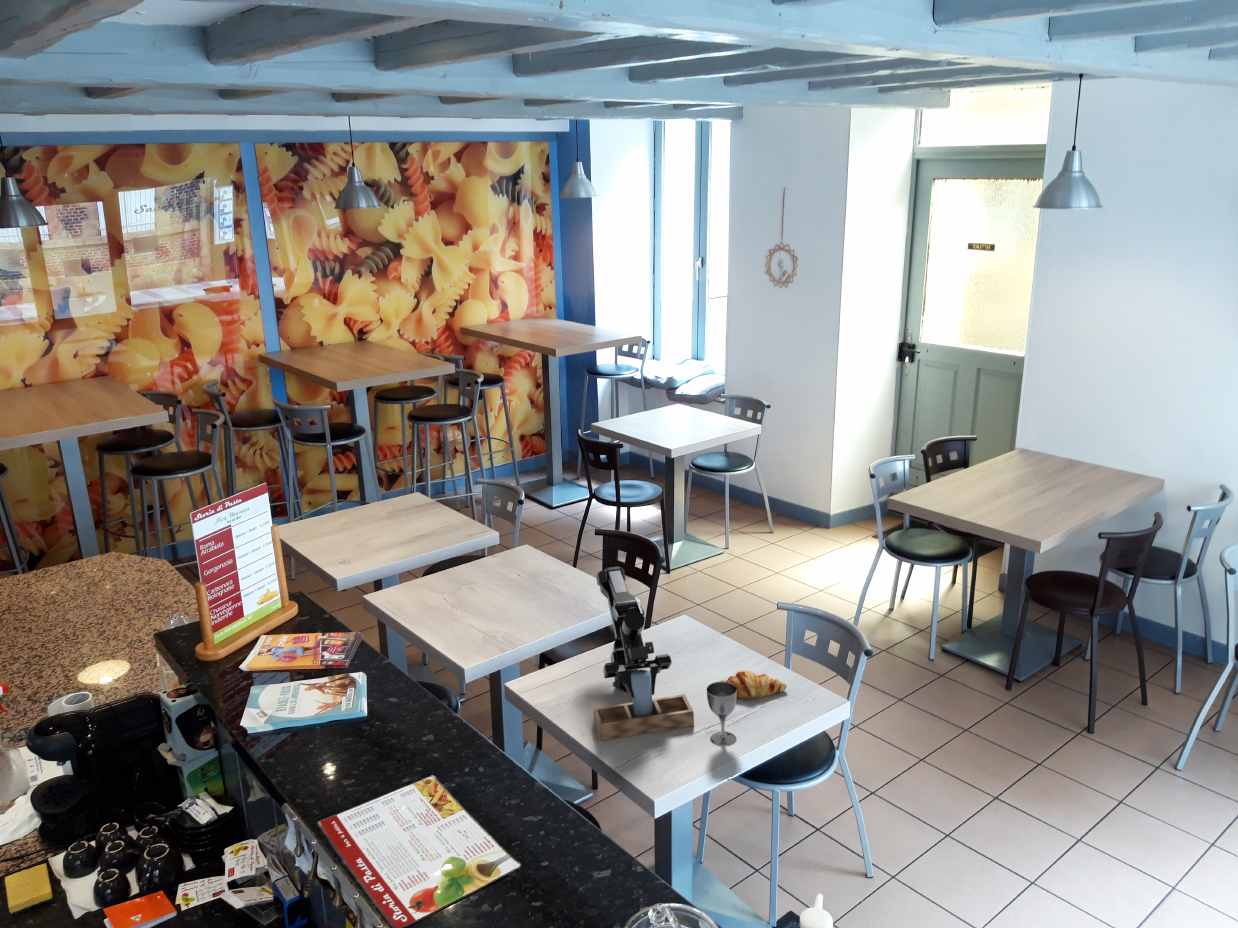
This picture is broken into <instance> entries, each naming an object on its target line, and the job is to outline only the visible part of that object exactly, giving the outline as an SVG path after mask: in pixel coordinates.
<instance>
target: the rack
mask: <svg viewBox="0 0 1238 928" xmlns="http://www.w3.org/2000/svg"><path fill="white" fill-rule="evenodd" d="M652 704H653V716H647V717H641V718H634V717H633V701H632V702H626V703H619V704H618V703H617V704H615V705H614V704H613V705H607V706H602V707H601V706H600V707H594V708H592V709H593V722H594V726H595V729H596V733H597V735H598V738H599V741H606V740H612V739H613V740H614V739H620V738H625V737H626V738H627V737H632V736H637V735H645V734H649V733H656V732H661V731H669V730H675V729H681V728H687V727H692V726H695V719H694V718H695V716H694V709H693V707H692V706H691V703H690V702H689V700H688V698H687V696H686V694H685V693H684V694H683V693H682V694H677V695H670V696H666V697H665V696H664V697H659V698H652Z"/></svg>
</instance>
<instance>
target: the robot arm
mask: <svg viewBox="0 0 1238 928" xmlns="http://www.w3.org/2000/svg"><path fill="white" fill-rule="evenodd" d="M625 574H626V573H625V569H624V568H622V567H621V566H612V567H606V568H605V569H604V570H603V569H602V570H599V572H597V573H596V577H595V578H596V583H597V586H599V589H600V593H601V594H602V595H603V596H604V597H605V598H606V599H607V603H608V609H609V613H610V617H611V622H612V629H613V632H614V633H613V634H614V637H615V640H614V642H613V648H612V651H611V653H610V657H609V658H610V662H606V663H605V664H604V666H603V668H602V670H603V671H602V672H603V678H604V679H609V678H614V681H613V682H612V684H613V685H614V686H615V687H617V688H619V689H621V690H622V691H624V692H628V694H629V696H630V697H631V699H632V698H634V695H633V690H632V685H631V673H632V672H634V671H636V670H644V669H648V668H649V672H650V673H651V685H652V696H654V695H655V687H656V679H657V674H660V673H661V671H662V670H663V671H664V670H668V669H670V667H671V665H672V658H671V655H670V654H668V653H665V654H658V655H655V658H654V659H651V660H648V659H649V654H651V655H652V654H654V653H655V648H654V644H653V641H646V642H644V641H643V637H642V631H643V629H644V625H645V621H646V620H645V617H644V616H645V610H644V609H643V608H642V605H640V603H639V602H637V601H638V600H637V599H636V597H635V595H634V594H631V593H629V590H628V587H627V584H626V580H627V579H626V575H625Z"/></svg>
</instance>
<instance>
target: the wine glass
mask: <svg viewBox="0 0 1238 928" xmlns="http://www.w3.org/2000/svg"><path fill="white" fill-rule="evenodd" d="M706 699H707V703H708V707H709V708H710V711H711V712H712V713H713V714H714V715H715V716H716V717H717V718H718V720H719V722H720V725H721V728H720V729H721V730H720V731H716V732H714V733H712V734H711V735H710V737H709V740H710V742H711V744H713V745H716V746H719V747H729V746H732V745H734V744H735V743H736V741H738V740H737V739H738V738H737V735H736V734H734V733H733V732H731V731H727V730H726V731H725V726H726V725H725V723H726V720H727V717H729V716H730V715H731V714H732V713H733V711H734V710H735V708H736V704H737V699H738V698H737V689H736V686H735V685H733V684H732V683H729V682H720V681H715V682H712V683H710V684H708V685H707V686H706Z"/></svg>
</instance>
